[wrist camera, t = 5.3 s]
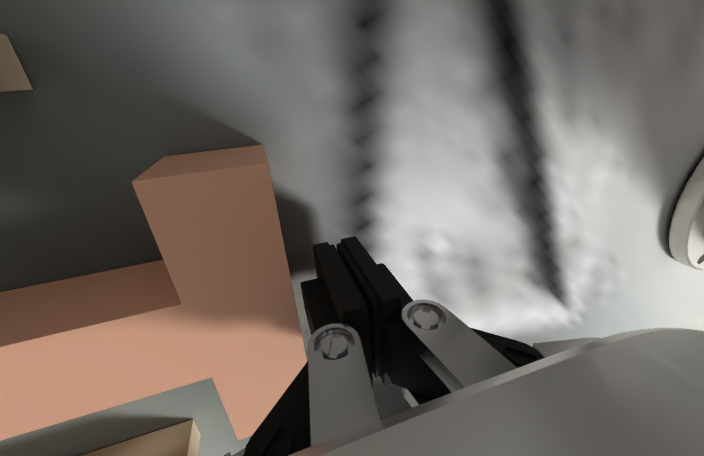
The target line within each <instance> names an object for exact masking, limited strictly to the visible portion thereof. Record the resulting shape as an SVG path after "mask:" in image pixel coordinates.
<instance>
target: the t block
mask: <svg viewBox="0 0 704 456" xmlns="http://www.w3.org/2000/svg"><path fill="white" fill-rule="evenodd" d="M132 184H133V187H134V189H135V192H136V194H137V197H138V199H139V201H140V204H141V206H142V209H143V211H144V214H145V216H146V218H147V221H148V223H149V226H150V228H151V231H152V233H153V235H154V238H155V240H156V243H157V245H158V248H159V250H160V252H161V255H162V257H163V260H159V261H154V262H149V263H144V264H139V265H134V266H128V267H123V268H118V269H113V270H108V271H103V272H98V273H93V274H88V275H83V276H78V277H73V278H68V279H63V280H58V281H53V282H48V283H43V284H38V285H33V286H28V287H23V288H18V289H13V290H8V291H3V292H0V441H1V440H4V439H7V438H11V437H14V436H17V435H21V434H24V433H27V432H31V431H34V430H37V429H41V428H44V427H47V426H51V425H54V424H57V423H61V422H64V421H67V420H71V419H74V418H77V417H81V416H84V415H88V414H91V413H94V412H98V411H101V410H104V409H108V408H111V407H114V406H118V405H121V404H124V403H128V402H131V401H134V400H138V399H141V398H144V397H148V396H151V395H154V394H158V393H161V392H164V391H168V390H171V389H174V388H178V387H181V386H185V385H188V384H191V383H195V382H198V381H201V380H205V379H208V378H211V377H212V378H213V381H214V383H215V386H216V388H217V390H218V393H219V395H220V398H221V400H222V403H223V405H224V407H225V410H226V412H227V415H228V417H229V420H230V422H231V424H232V427H233V429H234V432H235V434H236V437H237V439H238V440H241V439H244V438H246V437H249V436H252V435H253V434H254V432H255V431H256V430H257V428H258V427H259V426H260V424H261V423H262V422H263V420H264V419H265V418H266V416H267V415H268V414H269V412H270V411H271V410H272V408H273V407H274V406H275V404H276V403H277V401H278V400H279V399H280V397H281V396H282V395H283V393H284V392H285V391H286V389H287V388H288V387H289V385H290V384H291V383H292V381H293V380H294V379H295V377H296V376H297V375H298V373H299V372H300V371H301V369H302V368H303V367H304V365H305V364H306V363H307V359H306V354H305V349H304V344H303V339H302V334H301V329H300V324H299V318H298V313H297V308H296V303H295V298H294V293H293V288H292V283H291V277H290V272H289V267H288V262H287V257H286V252H285V247H284V242H283V237H282V231H281V226H280V221H279V216H278V211H277V206H276V201H275V196H274V190H273V185H272V180H271V175H270V170H269V165H268V161H267V157H266V154H265V150H264V147H263V144H262V145H254V146H245V147H237V148H229V149H220V150H212V151H204V152H196V153H187V154H179V155H171V156H164V157H163V158H161V159H160V160H159V161H158V162H156V163H155V164H154V165H152V166H151V167H150V168H148V169H147V170H146V171H145V172H143V173H142V174H141V175H139V176H138V177H137V178H136V179H134V180H133V181H132Z"/></svg>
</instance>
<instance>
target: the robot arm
mask: <svg viewBox="0 0 704 456" xmlns="http://www.w3.org/2000/svg"><path fill="white" fill-rule="evenodd" d="M669 247H670V250H671V254H672V256H673V257H674V258H675V259H676V261H678V262H680V263H682V264H685V265H687V266H689V267H692V268H695V269H699V270H704V157H703V158H702V160H701V161H700V163H699V164H698V165H697V167H696V169H695V171H694V172H693V174H692V176H691V177H690V179H689V181H688V182H687V184H686V186H685V188H684V190H683V192H682V194H681V196H680V199H679V201H678V203H677V206H676V209H675V211H674V214H673V217H672V221H671V226H670V231H669ZM313 251H314V259H315V266H316V273H317V279H313V280H308V281H304V282H301V289H302V295H303V300H304V306H305V311H306V315H307V320H308V324H309V327H310V331H311V335H312V336H311V338H310V339H309V342H308V361H307V363H306V364H305V365H304V367H303V368H302V369H301V371H300V372H299V373H298V375H297V376H296V377H295V379H294V380H293V381H292V383H291V384H290V385H289V387H288V388H287V389H286V391H285V392H284V393H283V395H282V396H281V397H280V399H279V400H278V401H277V403H276V404H275V406H274V407H273V408H272V410H271V411H270V412H269V414H268V415H267V416H266V418H265V419H264V420H263V422H262V423H261V424H260V426H259V427H258V428H257V430H256V431H255V432H254V434H253V435H252V437H251V438H250V440H249V442H248V444H247V445H246V448H244V449H242V450H241V451H239V452H237V453H236V454H234V455H233V456H704V331H700V330H692V329H682V328H654V329H643V330H635V331H630V332H624V333H619V334H615V335H611V336H608V337H604V338H581V339H571V340H561V341H551V342H541V343H533V346H532V347H531V346H529V345H527V344H525V343H522V342H519V341H516V340H512V339H509V338H505V337H501V336H498V335H494V334H491V333H487V332H484V331H480V330H476V329H473V328H469V327H468V326H467V325H466V324H465V323H463V322H462V321H461V320H460V319H459V318H457V317H456V316H455V315H454V314H453V313H451V312H450V311H449V310H448V309H447V308H445V307H444V306H442V305H441V304H439V303H437V302H434V301H430V300H416V301H413V300H412V299H411V297H410V296H409V295H408V294H407V292H406V291H405V290H404V288H403V287H402V286H401V285H400V283H399V282H398V281H397V280H396V278H395V277H394V276H393V275H392V273H391V272H390V271H389V270H388V268H387V267H386V266H385V265H384V264H382V263H381V264H376V263H375V262H374V260H373V259H372V258H371V256H370V255H369V254H368V252H367V251H366V250H365V248H364V247H363V246H362V244H361V243H360V242H359V240H358V239H357V238H356V237H355V236H354V237H349V238H344V239H341V243H338V244H337V250H336V248H335V246H334V245H329V244H328V242H325V243H320V244H315V245H313ZM372 372H373V374H374V376H375V377H377V376H380V377H381V379H382V381H383V383H384V385H387V384H390V383H393V384H395V385H398V386H400V387H401V391H402V393H403V395H404V397H405V399H406V400H407V402H408V403H409V404H410V406H411V407H412V408H410V409H407V410H405V411H402V412H400V413H397V414H394V415H392V416H389V417H386V418H384V419H381V420H380V418H379V414H378V410H377V405H376V401H375V397H374V393H373V377H372ZM224 456H231V453H230V452H229V453H227V454H225V455H224Z"/></svg>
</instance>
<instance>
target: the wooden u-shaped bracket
mask: <svg viewBox="0 0 704 456" xmlns="http://www.w3.org/2000/svg"><path fill="white" fill-rule="evenodd" d="M20 90H33V88H32V86H31V84H30V82H29V80H28V78H27V76H26V74H25V72H24V70H23V67H22V65H21V63H20V61H19V59H18V57H17V55H16V53H15V51H14V49H13V47H12V45H11V43H10V41H9V39H8V37H7V35H4V34H0V92H2V91H20ZM200 435H201V434H200V432H199V430H198V428H197V426H196V424H195V422H194V420H193V419H192V420H189V421H186V422H183V423H180V424H177V425H174V426H171V427H167V428H164V429H161V430H158V431H155V432H152V433H149V434H146V435H143V436H139V437H136V438H133V439H130V440H127V441H124V442H121V443H118V444H115V445H111V446H108V447H105V448H102V449H99V450H96V451H93V452H90V453H87V454H84V455H80V456H198V450H199V443H200Z"/></svg>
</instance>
